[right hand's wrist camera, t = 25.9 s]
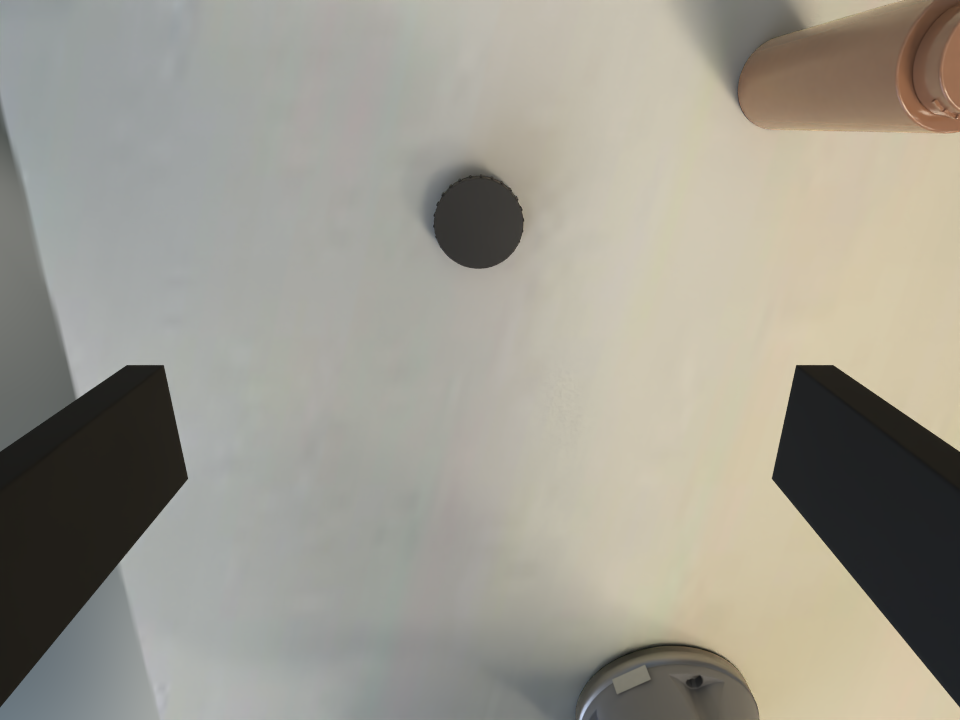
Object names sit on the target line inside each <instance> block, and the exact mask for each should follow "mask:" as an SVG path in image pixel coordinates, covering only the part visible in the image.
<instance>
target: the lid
mask: <svg viewBox="0 0 960 720" xmlns="http://www.w3.org/2000/svg"><path fill="white" fill-rule="evenodd" d="M511 191H512V190H511V188H508V187H507V186H505V185H504V184H503V182H502V181H501V182H499V181H498V180H495V179H493V177H491V178H490V177H485V176H482V175H480V176H472V177H471V175H470V176H469V177H468V178H464V179H462V180H461V179H459V181H458V182H456V183H455V184H453V185H452V184H451V185H450V186H449V189H448V190H447V191H446V192H445V193H444V192H443V194H442V198H441V200H440V202H438V203H437V205H436V206H437V209H436V212H435V213H434V217H435V218H434V225H433V227H434V229H435V234H436V238H437V241H438V243H439V245H440V247H441V248H442V250H443V251H444V252H445V254H446V255H447V256H448V257H449V258H451V259H452V260H453V261H455V262H457V263H458V264H460V265H463V266H465V267H469V268H479V269H481V268H488V267H492V266H495V265H497V264H499V263H501V262H503V261H504V260H505V259H507V258H508V257H509V256H510V255H511V254H512V253H513V252H514V250H515V249H516V247H517V245H518V244H519V243H520V239H521V236H522V232H523V221H524V219H523V216H522V208H521V206H520V205H519V203H518V198H517V196H516V197H515V196H514V194H513V193H512V192H511Z"/></svg>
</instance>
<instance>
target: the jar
mask: <svg viewBox="0 0 960 720" xmlns="http://www.w3.org/2000/svg"><path fill="white" fill-rule="evenodd" d="M738 98H739V103H740V106H741V109H742V111H743V113H744V114H745V116H746V117H747V118H748V119H749V120H750V121H751V122H752V123H753V124H755V125H757V126H759V127H761V128H764V129H770V130H809V131H857V132H904V133H956V132H960V0H902V1H899V2H895V3H892V4H888V5H885V6H881V7H878V8H875V9H871V10H868V11H864V12H861V13H857V14H854V15H851V16H847V17H844V18H840V19H837V20H833V21H830V22H827V23H823V24H820V25H816V26H813V27H809V28H806V29H803V30H799V31H796V32H792V33H789V34H785V35H782V36H779V37H776V38H773V39H771V40H769V41H767V42H765V43H764V44H762V45H761V46H760V47H759V48H757V49H756V50H755V51H754V52H753V54H752V55H751V56H750V57H749V59H748V60H747V62H746V64H745V65H744V68H743V70H742V72H741V75H740V79H739V84H738Z"/></svg>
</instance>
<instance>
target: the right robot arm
mask: <svg viewBox="0 0 960 720" xmlns="http://www.w3.org/2000/svg"><path fill="white" fill-rule="evenodd" d="M187 479H188V476H187V471H186V467H185V462H184V457H183V453H182V448H181V443H180V439H179V434H178V429H177V425H176V420H175V415H174V411H173V406H172V401H171V397H170V392H169V387H168V383H167V378H166V374H165V369H164V365H126V366H125V367H124V368H122V369H121V370H119V371H118V372H116V373H115V374H113V375H112V376H110V377H109V378H107V379H106V380H105V381H103V382H102V383H100V384H99V385H97V386H96V387H94V388H93V389H91V390H90V391H88V392H87V393H86V394H84V395H83V396H81V397H80V398H78V399H77V400H75V401H74V402H72V403H71V404H69V405H68V406H67V407H65V408H64V409H62V410H61V411H59V412H58V413H56V414H55V415H53V416H52V417H50V418H49V419H48V420H46V421H45V422H43V423H42V424H40V425H39V426H37V427H36V428H34V429H33V430H31V431H30V432H29V433H27V434H26V435H24V436H23V437H21V438H20V439H18V440H17V441H15V442H14V443H13V444H11V445H10V446H8V447H7V448H5V449H4V450H2V451H1V452H0V707H1V706H2V704H3V703H4V702H5V701H6V700H7V698H8V697H9V696H10V695H11V694H12V692H13V691H14V690H15V689H16V687H17V686H18V685H19V684H20V683H21V681H22V680H23V679H24V678H25V676H26V675H27V674H28V673H29V672H30V670H31V669H32V668H33V667H34V666H35V664H36V663H37V662H38V661H39V659H40V658H41V657H42V656H43V655H44V653H45V652H46V651H47V650H48V649H49V647H50V646H51V645H52V644H53V642H54V641H55V640H56V639H57V638H58V636H59V635H60V634H61V633H62V631H63V630H64V629H65V628H66V627H67V625H68V624H69V623H70V622H71V621H72V619H73V618H74V617H75V616H76V614H77V613H78V612H79V611H80V610H81V608H82V607H83V606H84V605H85V604H86V602H87V601H88V600H89V599H90V597H91V596H92V595H93V594H94V593H95V591H96V590H97V589H98V588H99V586H100V585H101V584H102V583H103V582H104V580H105V579H106V578H107V577H108V575H109V574H110V573H111V572H112V571H113V569H114V568H115V567H116V566H117V565H118V563H119V562H120V561H121V560H122V559H123V557H124V556H125V555H126V554H127V552H128V551H129V550H130V549H131V548H132V546H133V545H134V544H135V543H136V541H137V540H138V539H139V538H140V537H141V535H142V534H143V533H144V532H145V531H146V529H147V528H148V527H149V526H150V524H151V523H152V522H153V521H154V520H155V518H156V517H157V516H158V515H159V513H160V512H161V511H162V510H163V509H164V507H165V506H166V505H167V504H168V503H169V501H170V500H171V499H172V498H173V496H174V495H175V494H176V493H177V492H178V490H179V489H180V488H181V487H182V486H183V484H184V483H185V482H186V481H187ZM772 479H773V481H774V482H775V483H776V484H777V486H778V487H779V488H780V489H781V490H782V492H783V493H784V494H785V495H786V496H787V498H788V499H789V500H790V501H791V503H792V504H793V505H794V506H795V507H796V509H797V510H798V511H799V512H800V513H801V515H802V516H803V517H804V518H805V520H806V521H807V522H808V523H809V524H810V526H811V527H812V528H813V529H814V531H815V532H816V533H817V534H818V535H819V537H820V538H821V539H822V540H823V541H824V543H825V544H826V545H827V546H828V548H829V549H830V550H831V551H832V552H833V554H834V555H835V556H836V557H837V559H838V560H839V561H840V562H841V563H842V565H843V566H844V567H845V568H846V569H847V571H848V572H849V573H850V574H851V576H852V577H853V578H854V579H855V580H856V582H857V583H858V584H859V585H860V586H861V588H862V589H863V590H864V591H865V593H866V594H867V595H868V596H869V597H870V599H871V600H872V601H873V602H874V604H875V605H876V606H877V607H878V608H879V610H880V611H881V612H882V613H883V614H884V616H885V617H886V618H887V619H888V621H889V622H890V623H891V624H892V625H893V627H894V628H895V629H896V630H897V632H898V633H899V634H900V635H901V636H902V638H903V639H904V640H905V641H906V642H907V644H908V645H909V646H910V647H911V649H912V650H913V651H914V652H915V653H916V655H917V656H918V657H919V658H920V659H921V661H922V662H923V663H924V664H925V666H926V667H927V668H928V669H929V670H930V672H931V673H932V674H933V675H934V677H935V678H936V679H937V680H938V681H939V683H940V684H941V685H942V686H943V687H944V689H945V690H946V691H947V692H948V694H949V695H950V696H951V697H952V698H953V700H954V701H955V702H956V703H957V705H958V706H959V707H960V452H959V451H958V450H956V449H955V448H953V447H952V446H950V445H949V444H948V443H946V442H945V441H943V440H942V439H940V438H939V437H937V436H936V435H934V434H933V433H931V432H930V431H929V430H927V429H926V428H924V427H923V426H921V425H920V424H918V423H917V422H915V421H914V420H912V419H911V418H910V417H908V416H907V415H905V414H904V413H902V412H901V411H899V410H898V409H896V408H895V407H893V406H892V405H891V404H889V403H888V402H886V401H885V400H883V399H882V398H880V397H879V396H877V395H876V394H874V393H873V392H872V391H870V390H869V389H867V388H866V387H864V386H863V385H861V384H860V383H858V382H857V381H855V380H854V379H853V378H851V377H850V376H848V375H847V374H845V373H844V372H842V371H841V370H839V369H838V368H836V367H835V366H834V365H796V369H795V374H794V378H793V383H792V387H791V392H790V397H789V401H788V406H787V411H786V415H785V420H784V425H783V429H782V434H781V439H780V443H779V448H778V453H777V457H776V462H775V467H774V471H773V476H772ZM576 720H759V712H758V707H757V704H756V702H755V700H754V697H753V695H752V693H751V691H750V689H749V687H748V685H747V683H746V681H745V679H744V677H743V676H742V674H741V673H740V672H739V671H738V669H737V668H735V667H734V666H733V665H732V664H731V663H729V662H728V661H727V660H725V659H723V658H722V657H720V656H718V655H716V654H714V653H711V652H708V651H705V650H701V649H698V648H692V647H684V646H661V647H653V648H648V649H643V650H640V651H636V652H633V653H630V654H627V655H625V656H623V657H621V658H618V659H617V660H615V661H613V662H611V663H609V664H608V665H606V666H605V667H604V668H602V669H601V670H600V671H598V672H597V673H596V674H595V675H594V676H593V677H592V678H591V679H590V680H589V682H588V683H587V684H586V686H585V687H584V689H583V690H582V692H581V694H580V696H579V699H578V702H577V706H576Z"/></svg>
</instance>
